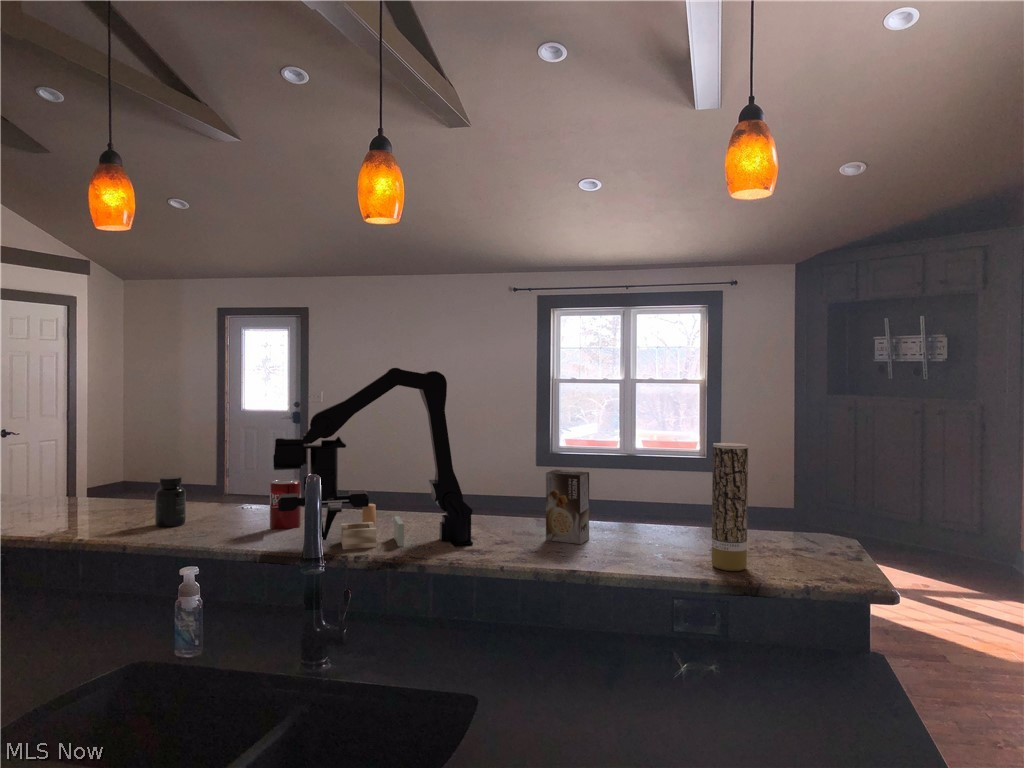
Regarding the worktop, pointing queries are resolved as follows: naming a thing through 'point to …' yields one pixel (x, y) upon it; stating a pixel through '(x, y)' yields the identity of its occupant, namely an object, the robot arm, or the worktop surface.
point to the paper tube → (729, 506)
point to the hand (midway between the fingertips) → (324, 539)
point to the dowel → (369, 513)
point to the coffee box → (567, 506)
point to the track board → (398, 531)
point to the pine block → (358, 535)
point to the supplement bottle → (170, 503)
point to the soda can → (284, 517)
